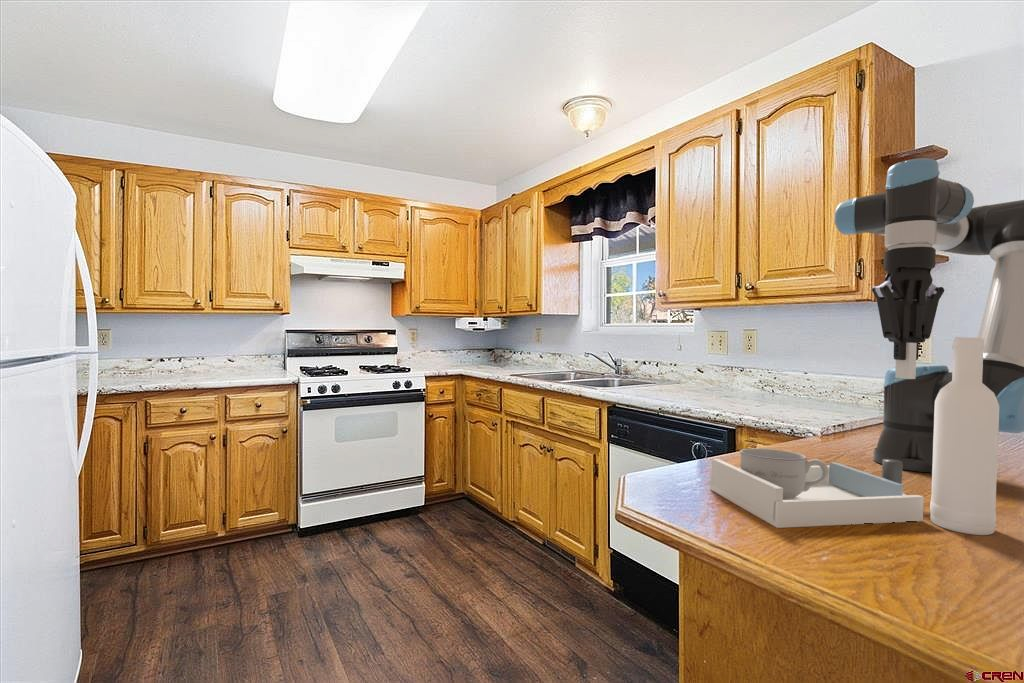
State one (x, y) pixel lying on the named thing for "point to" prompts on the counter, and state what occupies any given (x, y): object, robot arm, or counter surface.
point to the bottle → (965, 446)
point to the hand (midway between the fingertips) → (905, 378)
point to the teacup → (782, 469)
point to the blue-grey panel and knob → (869, 479)
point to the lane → (810, 501)
